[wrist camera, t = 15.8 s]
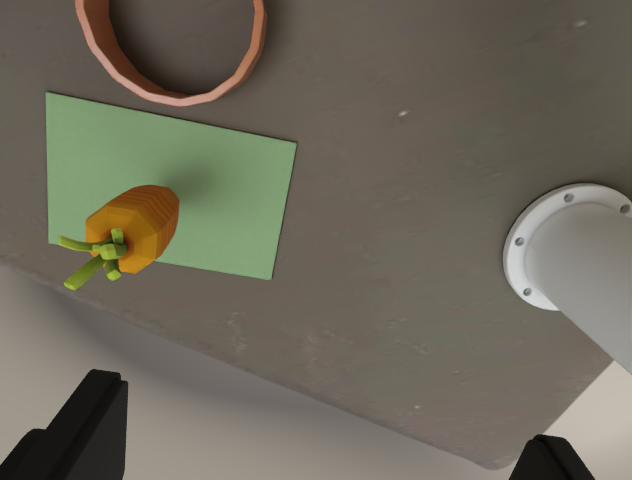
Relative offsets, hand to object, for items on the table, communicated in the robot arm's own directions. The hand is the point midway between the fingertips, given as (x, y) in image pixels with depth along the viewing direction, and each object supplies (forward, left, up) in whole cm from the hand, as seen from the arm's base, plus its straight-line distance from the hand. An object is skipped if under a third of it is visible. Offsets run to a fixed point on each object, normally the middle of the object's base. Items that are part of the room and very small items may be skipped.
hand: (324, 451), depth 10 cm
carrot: (+11, +4, -29) cm, 31 cm away
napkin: (+11, +4, -29) cm, 31 cm away
